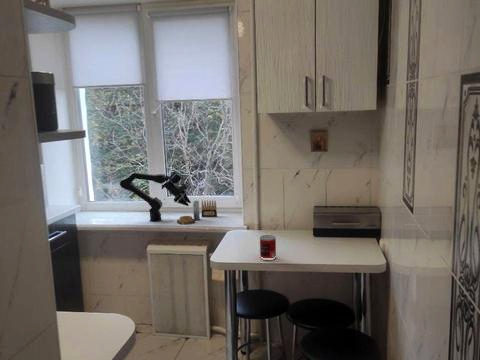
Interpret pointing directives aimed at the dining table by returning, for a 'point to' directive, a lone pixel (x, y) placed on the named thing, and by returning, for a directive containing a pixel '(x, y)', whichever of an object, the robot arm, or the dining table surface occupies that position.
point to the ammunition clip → (209, 209)
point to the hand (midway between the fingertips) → (189, 204)
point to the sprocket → (185, 220)
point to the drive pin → (196, 210)
